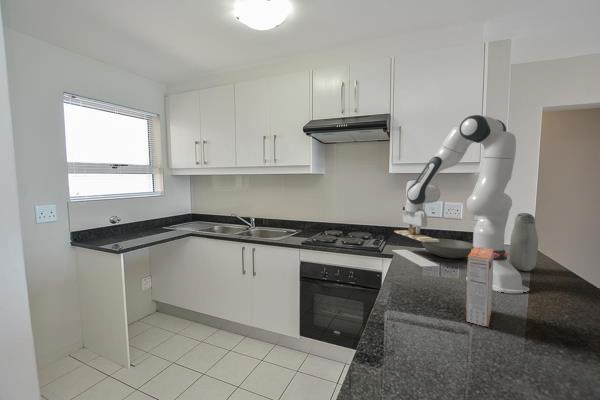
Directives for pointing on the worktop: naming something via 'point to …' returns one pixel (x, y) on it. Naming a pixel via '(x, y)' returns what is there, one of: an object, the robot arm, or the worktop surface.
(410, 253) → the mat
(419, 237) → the board
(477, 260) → the cracker box
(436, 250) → the bowl
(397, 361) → the worktop surface
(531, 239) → the grey green vase
